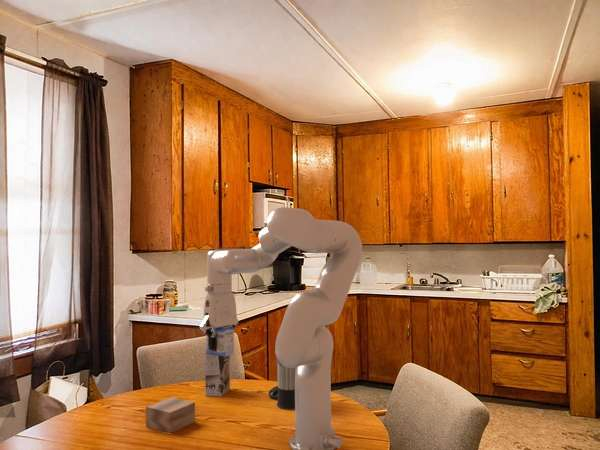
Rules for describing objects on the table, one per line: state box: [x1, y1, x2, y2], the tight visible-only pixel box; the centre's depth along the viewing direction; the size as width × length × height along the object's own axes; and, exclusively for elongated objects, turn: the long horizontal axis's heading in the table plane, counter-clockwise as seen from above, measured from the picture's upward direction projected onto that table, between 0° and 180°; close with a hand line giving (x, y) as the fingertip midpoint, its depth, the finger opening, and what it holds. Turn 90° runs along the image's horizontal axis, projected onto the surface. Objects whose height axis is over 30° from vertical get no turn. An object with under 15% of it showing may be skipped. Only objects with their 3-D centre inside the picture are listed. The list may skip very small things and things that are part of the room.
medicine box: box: [205, 326, 235, 357], centre depth 146 cm, size 8×4×9 cm, turn 61°
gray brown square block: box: [145, 396, 196, 434], centre depth 141 cm, size 10×10×6 cm
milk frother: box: [268, 359, 296, 410], centre depth 160 cm, size 14×16×15 cm
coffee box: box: [204, 349, 231, 397], centre depth 171 cm, size 9×6×16 cm
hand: (219, 347), depth 146 cm, fingers closed on medicine box, 5 cm apart
